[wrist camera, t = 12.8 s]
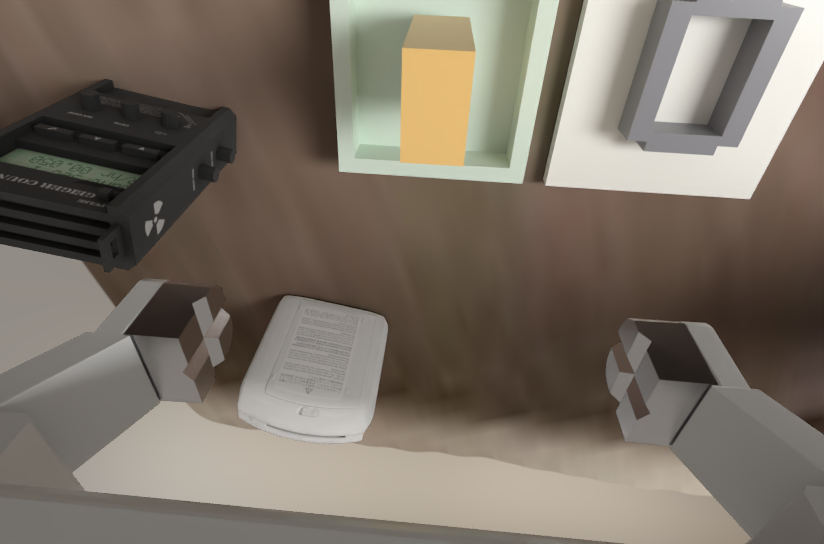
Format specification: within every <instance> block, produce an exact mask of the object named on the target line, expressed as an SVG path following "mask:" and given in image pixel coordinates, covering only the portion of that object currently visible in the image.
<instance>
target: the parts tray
mask: <svg viewBox="0 0 824 544" xmlns="http://www.w3.org/2000/svg"><path fill="white" fill-rule="evenodd" d="M558 4H559V0H330V18H331V35H332V53H333V70H334V88H335V105H336V123H337V140H338V158H339V172H353V173H368V174H384V175H399V176H414V177H429V178H444V179H459V180H474V181H489V182H504V183H519V184H522V183H523V178H524V173H525V168H526V163H527V158H528V153H529V148H530V143H531V138H532V133H533V128H534V123H535V118H536V113H537V108H538V103H539V99H540V94H541V89H542V84H543V79H544V74H545V69H546V64H547V59H548V54H549V49H550V44H551V39H552V34H553V29H554V24H555V19H556V14H557V9H558ZM414 14H415V15H439V16H459V17H470V22H471V28H472V33H473V39H474V44H475V50H476V55H475V64H474V73H473V83H472V92H471V102H470V111H469V120H468V130H467V139H466V149H465V158H464V166H449V165H432V164H415V163H400V132H401V79H402V47H403V44H404V41H405V39H406V36H407V33H408V30H409V27H410V25H411V22H412V19H413V16H414Z"/></svg>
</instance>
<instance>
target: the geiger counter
mask: <svg viewBox="0 0 824 544" xmlns="http://www.w3.org/2000/svg"><path fill="white" fill-rule="evenodd" d="M235 154H236V116H235V115H234V113H233V112H232V111H231V110H230V109H229V108H226V107H221V108H220V109H219V110H218V111H217V112H216V111H211V110H207V109H203V108H199V107H194V106H190V105H186V104H181V103H177V102H173V101H169V100H164V99H160V98H156V97H152V96H147V95H143V94H139V93H135V92H130V91H126V90H122V89H118V88H114V86H113V81H112V80H107V79H105V80H103V81H101V82H98V83H96V84H94V85H92V86H90V87H88V88H86V89H84V90H82V91H80V92H78V93H76V94H74V95H72V96H69V97H67V98H65V99H63V100H61V101H59V102H57V103H55V104H53V105H51V106H49V107H47V108H45V109H42V110H40V111H38V112H36V113H34V114H32V115H30V116H28V117H26V118H24V119H22V120H20V121H18V122H16V123H13V124H11V125H9V126H7V127H5V128H3V129H1V130H0V244H4V245H8V246H13V247H19V248H23V249H28V250H33V251H38V252H43V253H47V254H52V255H57V256H62V257H67V258H72V259H77V260H82V261H86V262H91V263H96V264H101V265H103V267H104V272H109V273H110V272H111V271H112V269H113V268H114V267H116V268H120V269H125V270H129V269H131V268H132V267H134V266H136V265H137V264H138V263H139V262H140V260H141V259H142V258H143V257H144V256H145V255H146V254H147V253H148V251H149V250H150V249H151V248H152V247H153V246H154V245H155V244H156V242H157V241H158V240H159V239H160V238H161V237H162V236H163V235H164V233H165V232H166V231H167V230H168V229H169V228H170V227H171V226H172V225H173V223H174V222H175V221H176V220H177V219H178V218H179V217H180V216H181V214H182V213H183V212H184V211H185V210H186V209H187V208H188V207H189V205H190V204H191V203H192V202H193V201H194V200H195V199H196V198H197V196H198V195H199V194H200V193H201V192H202V191H203V190H204V189H205V188H206V186H207V185H208V184H209V183H210V182H216V181H217V180H218V176H219V172H220V171H221V170H222V168H223V167H224V166H225V165H226V164H227V163H233V161H234V158H235Z"/></svg>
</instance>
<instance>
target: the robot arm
mask: <svg viewBox="0 0 824 544" xmlns="http://www.w3.org/2000/svg"><path fill="white" fill-rule="evenodd" d="M225 301H226V298H225V295H224V292H223V288H222V287H220V286H218V285H215V284H206V283H196V282H186V281H177V280H163V279H153V278H145V279H142V280H140V281H139V282H138V283H137V284H136V285H135V286H134V287H133V288H132V290H131V291H130V292H129V293H128V294H127V295H126V297H125V298H124V299H123V300H122V301H121V302H120V304H119V305H118V306H117V307H116V308H115V309H114V311H113V312H112V313H111V314H110V315H109V316H108V317H107V319H106V320H105V321H104V322H103V323H102V324H101V325H100V327H99V328H98V329H97V330H96V331H95V332H94V333H91V332H86V333H84V334H82V335H80V336H78V337H76V338H73V339H71V340H69V341H68V342H65V343H63V344H61V345H59V346H57V347H55V348H53V349H51V350H49V351H47V352H45V353H43V354H41V355H39V356H37V357H35V358H33V359H31V360H29V361H27V362H25V363H23V364H21V365H19V366H17V367H15V368H12V369H10V370H8V371H6V372H4V373H2V374H0V544H622V543H612V542H601V541H592V540H581V539H571V538H560V537H551V536H540V535H530V534H520V533H510V532H499V531H488V530H479V529H469V528H457V527H448V526H438V525H427V524H417V523H407V522H395V521H386V520H375V519H365V518H355V517H344V516H334V515H324V514H313V513H303V512H293V511H282V510H272V509H261V508H251V507H241V506H231V505H221V504H210V503H200V502H190V501H179V500H169V499H159V498H149V497H138V496H129V495H118V494H108V493H98V492H87V491H85V490H84V489H83V487H82V486H81V485H80V483H79V482H78V481H77V479H76V478H75V477H74V476H73V474H72V472H73V471H75V470H76V469H77V468H78V467H80V466H81V465H82V464H83V463H85V462H86V461H87V460H88V459H90V458H91V457H92V456H94V455H95V454H96V453H97V452H99V451H100V450H101V449H102V448H104V447H105V446H106V445H107V444H109V443H110V442H111V441H112V440H114V439H115V438H116V437H117V436H119V435H120V434H121V433H123V432H124V431H125V430H126V429H128V428H129V427H130V426H131V425H133V424H134V423H135V422H136V421H138V420H139V419H140V418H141V417H143V416H144V415H145V414H147V413H148V412H149V411H150V410H152V409H153V408H154V407H155V406H157V405H158V404H159V403H160V401H175V402H191V403H202V402H203V400H204V399H205V397H206V395H207V393H208V391H209V389H210V387H211V385H212V383H213V381H214V379H215V378H216V375H215V372H214V369H213V367H214V366H216V365H218V364H219V363H221V362H222V361H224V360H225V358H226V356H227V354H228V352H229V350H230V346H231V342H232V337H233V325H232V321H231V316H230V315H229V314H228V313H227V312H225V311H224V310H223V309H222V306H223V304H224V303H225ZM618 333H619V336H620V339H621V342H619V343H618V344H616V345H615V346H613V347H612V348H611V350H610V353H609V355H608V358H607V364H606V379H607V385H608V388H609V391H610V394H611V395H613V396H614V397H615V398H616V399H617V400H618V401H619V402H620V405H619V407H618V409H617V411H616V414H617V417H618V420H619V423H620V426H621V429H622V432H623V435H624V438H625V441H627V442H636V443H644V444H653V445H662V446H670V447H671V448H670V449H671V450H672V451H673V453H674V454H675V455H676V456H677V457H678V458H679V459H680V460H681V461H682V462H683V464H684V465H685V466H686V467H687V468H688V469H689V470H690V471H691V472H692V473H693V475H694V476H695V477H696V478H697V479H698V480H699V481H700V482H701V483H702V484H703V486H704V487H705V488H706V489H707V490H708V491H709V492H710V493H711V494H712V495H713V497H714V498H715V499H716V500H717V501H718V502H719V503H720V504H721V505H722V506H723V508H724V509H725V510H726V511H727V512H728V513H729V514H730V515H731V516H732V517H733V519H734V520H735V521H736V522H737V523H738V524H739V525H740V526H741V527H742V528H743V530H744V531H745V532H746V533H747V534H748V535H749V536H750V537H751V539H750V540H748V541H747V542H746V543H745V544H824V435H823V434H822V433H820V432H819V431H817V430H816V429H814V428H813V427H812V426H810V425H809V424H807V423H806V422H804V421H803V420H802V419H800V418H799V417H797V416H796V415H795V414H793V413H792V412H790V411H789V410H787V409H786V408H785V407H783V406H782V405H780V404H779V403H777V402H776V401H775V400H773V399H772V398H770V397H769V396H767V395H766V394H765V393H763V392H762V391H760V390H758V389H750V387H749V386H748V384H747V382H746V381H745V379H744V377H743V376H742V374H741V373H740V371H739V369H738V368H737V366H736V364H735V363H734V361H733V360H732V358H731V356H730V355H729V353H728V352H727V350H726V348H725V347H724V345H723V343H722V342H721V340H720V339H719V337H718V335H717V334H716V332H715V331H714V329H713V328H712V327H711V326H710V325H708V324H707V323H698V322H682V321H680V322H676V321H662V320H649V319H635V318H627V319H626V320H625V321H624V322H623V323H622V325H621V327H620V329H619V331H618Z"/></svg>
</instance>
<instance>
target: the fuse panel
mask: <svg viewBox="0 0 824 544" xmlns="http://www.w3.org/2000/svg"><path fill="white" fill-rule="evenodd" d="M823 61H824V0H584V1H583V6H582V10H581V14H580V19H579V23H578V28H577V32H576V36H575V41H574V45H573V50H572V54H571V58H570V63H569V67H568V72H567V76H566V80H565V85H564V89H563V94H562V98H561V102H560V107H559V111H558V116H557V120H556V124H555V129H554V133H553V138H552V142H551V146H550V151H549V155H548V159H547V164H546V168H545V173H544V177H543V181H544V183H545V186H559V187H574V188H589V189H604V190H619V191H634V192H649V193H664V194H680V195H695V196H710V197H725V198H740V199H750V198H751V196H752V194H753V192H754V190H755V189H756V187H757V185H758V183H759V181H760V179H761V177H762V175H763V174H764V172H765V170H766V168H767V166H768V164H769V162H770V160H771V159H772V157H773V155H774V153H775V151H776V149H777V147H778V145H779V143H780V142H781V140H782V138H783V136H784V134H785V132H786V130H787V128H788V127H789V125H790V123H791V121H792V119H793V117H794V115H795V113H796V112H797V110H798V108H799V106H800V104H801V102H802V100H803V98H804V97H805V95H806V93H807V91H808V89H809V87H810V85H811V83H812V81H813V80H814V78H815V76H816V74H817V72H818V70H819V68H820V66H821V65H822V63H823Z"/></svg>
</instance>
